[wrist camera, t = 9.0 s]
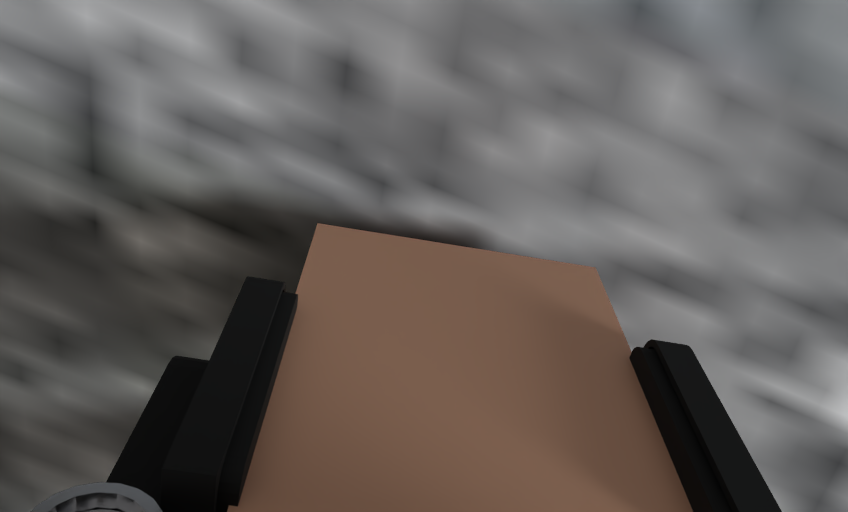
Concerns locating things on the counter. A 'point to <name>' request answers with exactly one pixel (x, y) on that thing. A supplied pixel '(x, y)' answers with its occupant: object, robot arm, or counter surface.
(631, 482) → the domino
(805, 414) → the counter surface
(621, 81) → the counter surface
